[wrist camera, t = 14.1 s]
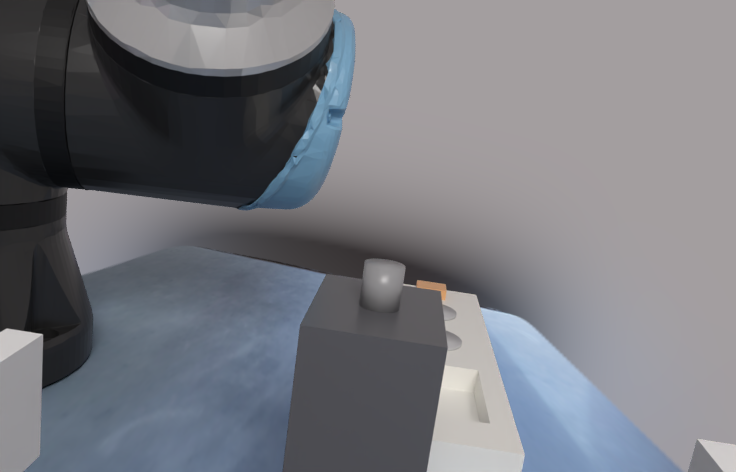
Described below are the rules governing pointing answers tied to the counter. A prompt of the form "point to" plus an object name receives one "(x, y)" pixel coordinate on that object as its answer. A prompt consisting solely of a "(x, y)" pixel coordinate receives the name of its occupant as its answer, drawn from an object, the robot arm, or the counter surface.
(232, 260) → the counter surface
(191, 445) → the counter surface
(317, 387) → the grey block with knob
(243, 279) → the counter surface
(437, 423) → the power strip
